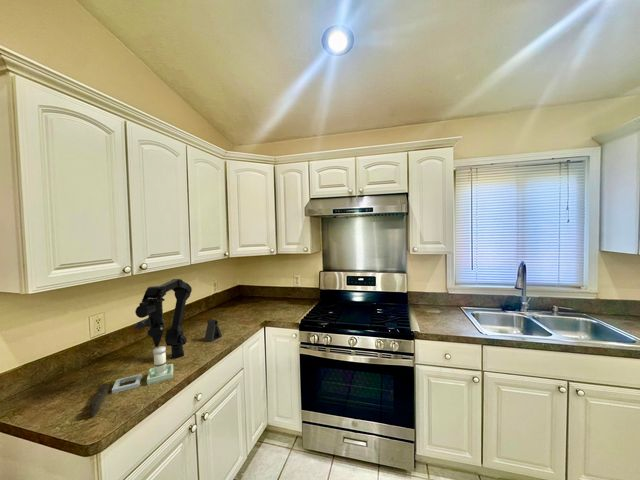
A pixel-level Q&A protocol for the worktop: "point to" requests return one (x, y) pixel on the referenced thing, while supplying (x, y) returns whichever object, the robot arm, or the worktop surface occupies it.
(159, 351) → the mushroom-shaped knob
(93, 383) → the worktop surface
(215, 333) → the phone stand
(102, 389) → the hand tool
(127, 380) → the rectangular open frame
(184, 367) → the worktop surface
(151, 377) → the parts tray
